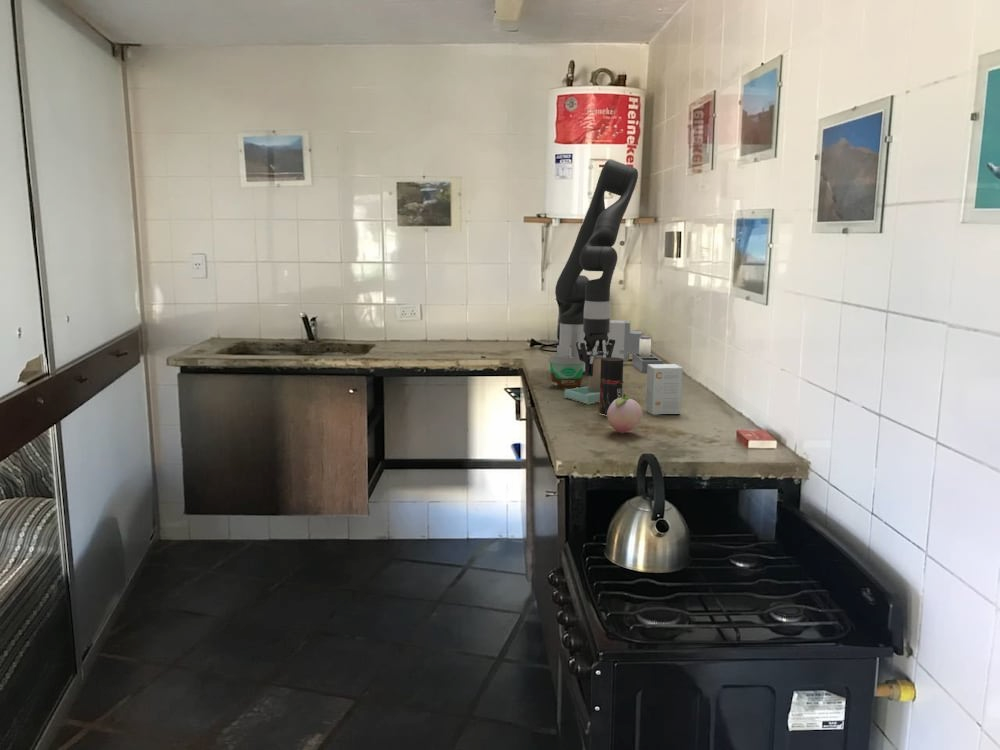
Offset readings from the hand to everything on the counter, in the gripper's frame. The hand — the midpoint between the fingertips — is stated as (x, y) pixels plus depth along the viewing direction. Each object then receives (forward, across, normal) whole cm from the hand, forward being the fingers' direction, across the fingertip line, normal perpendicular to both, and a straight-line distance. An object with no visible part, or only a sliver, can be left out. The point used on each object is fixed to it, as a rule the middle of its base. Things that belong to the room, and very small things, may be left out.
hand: (594, 374), depth 233 cm
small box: (+7, +3, -24) cm, 25 cm away
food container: (+7, +4, +16) cm, 18 cm away
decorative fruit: (+7, -22, -34) cm, 41 cm away
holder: (+7, +46, +22) cm, 51 cm away
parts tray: (+7, 0, 0) cm, 7 cm away
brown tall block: (+5, 0, 0) cm, 5 cm away
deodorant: (+7, -10, -17) cm, 21 cm away
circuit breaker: (+7, +54, +40) cm, 68 cm away
